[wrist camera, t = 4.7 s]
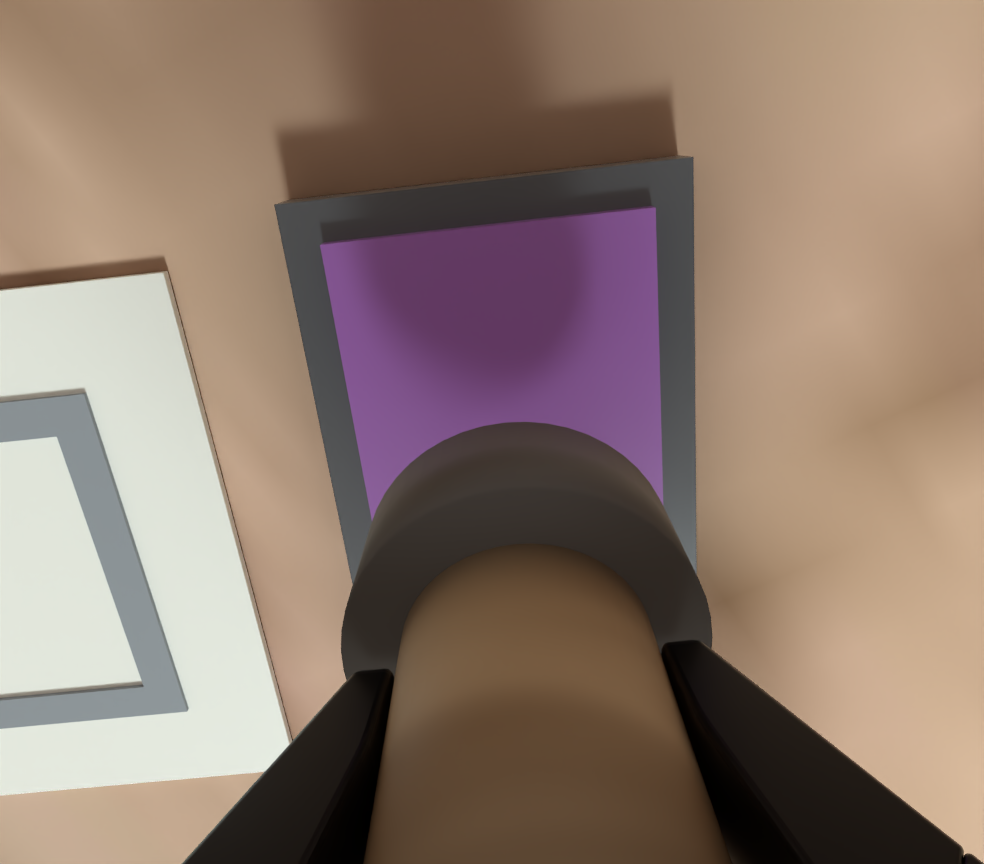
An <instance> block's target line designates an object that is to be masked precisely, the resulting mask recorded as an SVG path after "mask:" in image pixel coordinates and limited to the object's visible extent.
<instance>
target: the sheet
mask: <svg viewBox="0 0 984 864" xmlns="http://www.w3.org/2000/svg"><path fill="white" fill-rule="evenodd" d="M291 742H292V738H291V734H290V731H289V727H288V723H287V719H286V715H285V712H284V708H283V704H282V700H281V697H280V693H279V689H278V685H277V682H276V678H275V674H274V670H273V666H272V663H271V659H270V655H269V651H268V648H267V644H266V640H265V636H264V633H263V629H262V625H261V621H260V617H259V614H258V610H257V606H256V602H255V599H254V595H253V591H252V587H251V584H250V580H249V576H248V572H247V568H246V565H245V561H244V557H243V553H242V550H241V546H240V542H239V538H238V535H237V531H236V527H235V523H234V520H233V516H232V512H231V508H230V504H229V501H228V497H227V493H226V489H225V486H224V482H223V478H222V474H221V471H220V467H219V463H218V459H217V455H216V452H215V448H214V444H213V440H212V437H211V433H210V429H209V425H208V422H207V418H206V414H205V410H204V406H203V403H202V399H201V395H200V391H199V388H198V384H197V380H196V376H195V373H194V369H193V365H192V361H191V357H190V354H189V350H188V346H187V342H186V339H185V335H184V331H183V327H182V324H181V320H180V316H179V312H178V308H177V305H176V301H175V297H174V293H173V290H172V286H171V282H170V278H169V275H168V271H162V272H153V273H144V274H135V275H126V276H117V277H108V278H99V279H90V280H81V281H72V282H63V283H54V284H45V285H36V286H27V287H18V288H9V289H1V290H0V795H11V794H22V793H33V792H45V791H56V790H67V789H78V788H89V787H100V786H111V785H123V784H134V783H145V782H156V781H167V780H178V779H190V778H201V777H212V776H223V775H234V774H245V773H256V772H265V771H266V770H267V769H268V768H269V766H270V765H271V764H272V763H273V762H274V761H275V760H276V759H277V758H278V756H279V755H280V754H281V753H282V752H283V751H284V750H285V749H286V748H287V746H288V745H289V744H290V743H291Z"/></svg>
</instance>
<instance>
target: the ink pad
mask: <svg viewBox="0 0 984 864" xmlns="http://www.w3.org/2000/svg"><path fill="white" fill-rule="evenodd" d="M275 210H276V215H277V220H278V225H279V229H280V234H281V239H282V244H283V249H284V254H285V259H286V263H287V268H288V273H289V278H290V283H291V288H292V292H293V297H294V302H295V307H296V312H297V317H298V322H299V326H300V331H301V336H302V341H303V346H304V351H305V355H306V360H307V365H308V370H309V375H310V380H311V385H312V389H313V394H314V399H315V404H316V409H317V414H318V418H319V423H320V428H321V433H322V438H323V443H324V448H325V452H326V457H327V462H328V467H329V472H330V477H331V481H332V486H333V491H334V496H335V501H336V506H337V510H338V515H339V520H340V525H341V530H342V535H343V540H344V544H345V549H346V554H347V559H348V564H349V569H350V573H351V578H352V583H354V580H355V576H356V573H357V570H358V566H359V563H360V559H361V556H362V553H363V549H364V546H365V542H366V539H367V536H368V532H369V529H370V526H371V523H372V520H373V517H374V514H375V511H376V509H377V507H378V505H379V503H380V501H381V500H382V498H383V496H384V494H385V492H386V491H387V490H388V488H389V487H390V485H391V484H392V483H393V481H394V480H395V478H396V477H397V476H398V475H399V474H400V473H401V472H402V471H403V470H404V469H405V468H406V467H407V466H408V465H409V464H410V463H411V462H412V461H414V460H415V459H416V458H417V457H419V456H420V455H421V454H422V453H424V452H425V451H426V450H428V449H430V448H431V447H433V446H435V445H436V444H438V443H440V442H442V441H443V440H445V439H448V438H450V437H452V436H455V435H457V434H459V433H462V432H464V431H468V430H471V429H475V428H478V427H481V426H486V425H492V424H498V423H505V422H536V423H548V424H553V425H557V426H562V427H567V428H570V429H573V430H576V431H579V432H582V433H585V434H588V435H590V436H592V437H594V438H596V439H598V440H600V441H602V442H604V443H606V444H608V445H609V446H611V447H612V448H613V449H615V450H616V451H618V452H619V453H621V454H622V455H624V456H625V457H626V458H627V459H628V460H629V461H630V462H631V463H633V464H634V465H635V466H636V467H637V468H638V469H639V470H640V471H641V473H642V474H643V475H644V476H645V477H646V479H647V480H648V481H649V482H650V484H651V485H652V487H653V489H654V490H655V492H656V493H657V495H658V497H659V498H660V500H661V502H662V505H663V507H664V509H665V511H666V513H667V515H668V517H669V519H670V521H671V523H672V525H673V527H674V529H675V531H676V533H677V536H678V538H679V540H680V542H681V544H682V546H683V548H684V550H685V552H686V554H687V556H688V558H689V560H690V562H691V564H692V566H693V569H694V571H695V573H696V446H695V316H694V187H693V157H688V156H670V157H661V158H653V159H644V160H635V161H626V162H618V163H609V164H600V165H591V166H582V167H574V168H565V169H556V170H547V171H539V172H530V173H521V174H512V175H504V176H495V177H486V178H477V179H468V180H460V181H451V182H442V183H433V184H425V185H416V186H407V187H398V188H389V189H381V190H372V191H363V192H354V193H346V194H337V195H328V196H319V197H310V198H302V199H293V200H287V201H284V202H281V203H278V204H275Z"/></svg>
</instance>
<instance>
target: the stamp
mask: <svg viewBox="0 0 984 864" xmlns="http://www.w3.org/2000/svg"><path fill="white" fill-rule="evenodd" d="M684 640H699V641H701V642H703V643H704V644H705V645H707V646H708V647H709V648H710V649H711V647H712V627H711V616H710V612H709V607H708V603H707V599H706V596H705V593H704V591H703V589H702V586H701V584H700V582H699V579H698V577H697V575H696V573H695V571H694V569H693V566H692V564H691V562H690V560H689V558H688V556H687V554H686V552H685V550H684V548H683V546H682V544H681V542H680V540H679V538H678V536H677V533H676V531H675V529H674V527H673V525H672V523H671V521H670V519H669V517H668V515H667V513H666V511H665V509H664V507H663V505H662V502H661V500H660V498H659V497H658V495H657V493H656V492H655V490H654V489H653V487H652V485H651V484H650V482H649V481H648V480H647V479H646V477H645V476H644V475H643V474H642V473H641V471H640V470H639V469H638V468H637V467H636V466H635V465H634V464H633V463H631V462H630V461H629V460H628V459H627V458H626V457H625V456H624V455H622V454H621V453H619V452H618V451H616V450H615V449H613V448H612V447H611V446H609V445H608V444H606V443H604V442H602V441H600V440H598V439H596V438H594V437H592V436H590V435H588V434H585V433H582V432H579V431H576V430H573V429H570V428H567V427H562V426H557V425H553V424H548V423H536V422H505V423H498V424H492V425H486V426H481V427H478V428H475V429H471V430H468V431H464V432H462V433H459V434H457V435H455V436H452V437H450V438H448V439H445V440H443V441H442V442H440V443H438V444H436V445H435V446H433V447H431V448H430V449H428V450H426V451H425V452H424V453H422V454H421V455H420V456H419V457H417V458H416V459H415V460H414V461H412V462H411V463H410V464H409V465H408V466H407V467H406V468H405V469H404V470H403V471H402V472H401V473H400V474H399V475H398V476H397V477H396V478H395V480H394V481H393V483H392V484H391V485H390V487H389V488H388V490H387V491H386V492H385V494H384V496H383V498H382V500H381V501H380V503H379V505H378V507H377V509H376V511H375V514H374V517H373V520H372V523H371V526H370V529H369V532H368V536H367V539H366V542H365V546H364V549H363V553H362V556H361V559H360V563H359V566H358V570H357V573H356V576H355V580H354V583H353V586H352V590H351V593H350V597H349V600H348V603H347V607H346V610H345V615H344V621H343V626H342V636H341V653H342V661H343V668H344V673H345V676H346V679H347V680H348V679H349V678H350V677H351V675H353V674H354V673H355V672H357V671H362V670H373V669H384V668H386V669H389V670H390V671H391V672H392V673H393V675H394V684H393V690H392V696H391V702H390V708H389V714H388V720H387V726H386V731H385V737H384V743H383V749H382V755H381V761H380V767H379V773H378V779H377V785H376V791H375V797H374V803H373V809H372V815H371V821H370V827H369V833H368V839H367V845H366V850H365V856H364V862H363V864H732V861H731V858H730V856H729V853H728V850H727V847H726V844H725V841H724V838H723V835H722V832H721V829H720V826H719V823H718V820H717V817H716V814H715V812H714V809H713V806H712V803H711V800H710V797H709V794H708V791H707V788H706V785H705V782H704V779H703V776H702V773H701V770H700V767H699V765H698V762H697V759H696V756H695V753H694V750H693V747H692V744H691V741H690V738H689V735H688V732H687V729H686V726H685V723H684V721H683V718H682V715H681V712H680V709H679V706H678V703H677V700H676V697H675V694H674V691H673V688H672V685H671V682H670V679H669V676H668V674H667V671H666V668H665V665H664V662H663V659H662V656H661V650H662V647H663V645H664V644H665V643H667V642H674V641H684Z"/></svg>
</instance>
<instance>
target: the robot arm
mask: <svg viewBox="0 0 984 864" xmlns="http://www.w3.org/2000/svg"><path fill="white" fill-rule="evenodd" d="M661 656H662V659H663V662H664V665H665V668H666V671H667V674H668V676H669V679H670V682H671V685H672V688H673V691H674V694H675V697H676V700H677V703H678V706H679V709H680V712H681V715H682V718H683V721H684V723H685V726H686V729H687V732H688V735H689V738H690V741H691V744H692V747H693V750H694V753H695V756H696V759H697V762H698V765H699V767H700V770H701V773H702V776H703V779H704V782H705V785H706V788H707V791H708V794H709V797H710V800H711V803H712V806H713V809H714V812H715V814H716V817H717V820H718V823H719V826H720V829H721V832H722V835H723V838H724V841H725V844H726V847H727V850H728V853H729V856H730V858H731V861H732V864H984V863H983V862H981V861H980V860H979V859H977V858H976V857H975V856H974V855H972V854H965V855H964V850H963V848H962V847H961V846H960V845H959V844H958V843H957V842H955V841H954V840H953V839H952V838H950V837H949V836H948V835H946V834H945V833H944V832H943V831H941V830H940V829H939V828H938V827H936V826H935V825H934V824H933V823H931V822H930V821H929V820H927V819H926V818H925V817H924V816H922V815H921V814H920V813H919V812H917V811H916V810H915V809H913V808H912V807H911V806H910V805H908V804H907V803H906V802H905V801H903V800H902V799H901V798H900V797H898V796H897V795H896V794H894V793H893V792H892V791H891V790H889V789H888V788H887V787H886V786H884V785H883V784H882V783H881V782H879V781H878V780H877V779H875V778H874V777H873V776H872V775H870V774H869V773H868V772H867V771H865V770H864V769H863V768H861V767H860V766H859V765H858V764H856V763H855V762H854V761H853V760H851V759H850V758H849V757H848V756H846V755H845V754H844V753H842V752H841V751H840V750H839V749H837V748H836V747H835V746H834V745H832V744H831V743H830V742H828V741H827V740H826V739H825V738H823V737H822V736H821V735H820V734H818V733H817V732H816V731H815V730H813V729H812V728H811V727H809V726H808V725H807V724H806V723H804V722H803V721H802V720H801V719H799V718H798V717H797V716H795V715H794V714H793V713H792V712H790V711H789V710H788V709H787V708H785V707H784V706H783V705H782V704H780V703H779V702H778V701H776V700H775V699H774V698H773V697H771V696H770V695H769V694H768V693H766V692H765V691H764V690H763V689H761V688H760V687H759V686H757V685H756V684H755V683H754V682H752V681H751V680H750V679H749V678H747V677H746V676H745V675H743V674H742V673H741V672H740V671H738V670H737V669H736V668H735V667H733V666H732V665H731V664H730V663H728V662H727V661H726V660H724V659H723V658H722V657H721V656H719V655H718V654H717V653H716V652H714V651H713V650H712V649H710V648H709V647H708V646H707V645H705V644H704V643H703V642H701V641H699V640H684V641H674V642H667V643H665V644H664V645H663V647H662V650H661ZM393 684H394V675H393V673H392V672H391V671H390V670H389V669H386V668H384V669H373V670H362V671H357V672H355V673H354V674H353V675H351V677H350V678H349V679H348V680H347V681H346V682H345V683H344V684H343V685H342V687H341V688H340V689H339V690H338V691H337V692H336V693H335V694H334V695H333V697H332V698H331V699H330V700H329V701H328V702H327V703H326V704H325V705H324V706H323V708H322V709H321V710H320V711H319V712H318V713H317V714H316V715H315V716H314V718H313V719H312V720H311V721H310V722H309V723H308V724H307V725H306V726H305V728H304V729H303V730H302V731H301V732H300V733H299V734H298V735H297V736H296V738H295V739H294V740H293V741H292V742H291V743H290V744H289V745H288V746H287V748H286V749H285V750H284V751H283V752H282V753H281V754H280V755H279V756H278V758H277V759H276V760H275V761H274V762H273V763H272V764H271V765H270V766H269V768H268V769H267V770H266V771H265V772H264V773H263V774H262V775H261V776H260V778H259V779H258V780H257V781H256V782H255V783H254V784H253V785H252V786H251V788H250V789H249V790H248V791H247V792H246V793H245V794H244V795H243V796H242V798H241V799H240V800H239V801H238V802H237V803H236V804H235V805H234V806H233V808H232V809H231V810H230V811H229V812H228V813H227V814H226V815H225V816H224V818H223V819H222V820H221V821H220V822H219V823H218V824H217V825H216V826H215V828H214V829H213V830H212V831H211V832H210V833H209V834H208V835H207V836H206V838H205V839H204V840H203V841H202V842H201V843H200V844H199V845H198V846H197V848H196V849H195V850H194V851H193V852H192V853H191V854H190V855H189V856H188V858H187V859H186V860H185V861H184V862H183V863H182V864H363V862H364V856H365V850H366V845H367V839H368V833H369V827H370V821H371V815H372V809H373V803H374V797H375V791H376V785H377V779H378V773H379V767H380V761H381V755H382V749H383V743H384V737H385V731H386V726H387V720H388V714H389V708H390V702H391V696H392V690H393Z"/></svg>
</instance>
